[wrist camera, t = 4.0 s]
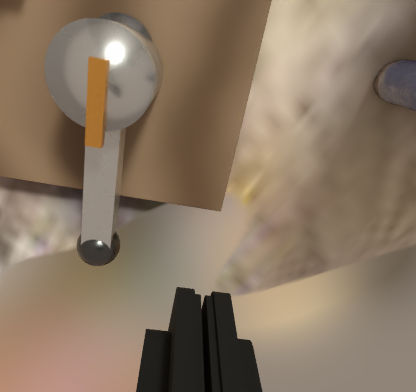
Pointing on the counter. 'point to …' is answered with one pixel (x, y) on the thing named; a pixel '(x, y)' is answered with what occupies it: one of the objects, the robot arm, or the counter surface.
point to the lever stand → (157, 110)
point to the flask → (398, 83)
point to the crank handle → (103, 110)
